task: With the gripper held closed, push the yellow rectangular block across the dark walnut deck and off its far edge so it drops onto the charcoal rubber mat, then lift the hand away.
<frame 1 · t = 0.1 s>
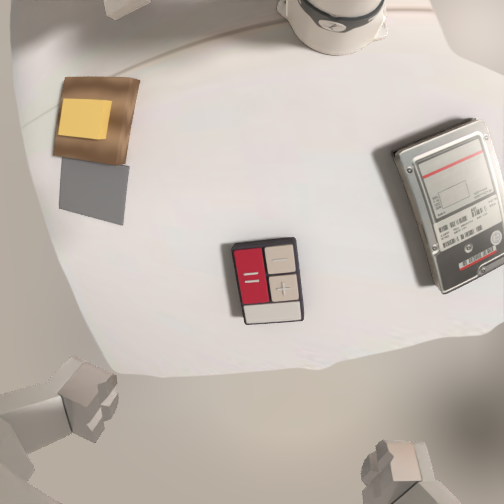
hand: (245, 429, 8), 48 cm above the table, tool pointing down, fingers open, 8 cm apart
yellow rectangular block: (87, 118, 50), point 3 cm above the table, touching deck
deck: (98, 118, 53), on the table
mat: (91, 188, 58), on the table
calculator: (270, 277, 60), on the table
hard drive: (456, 204, 50), on the table
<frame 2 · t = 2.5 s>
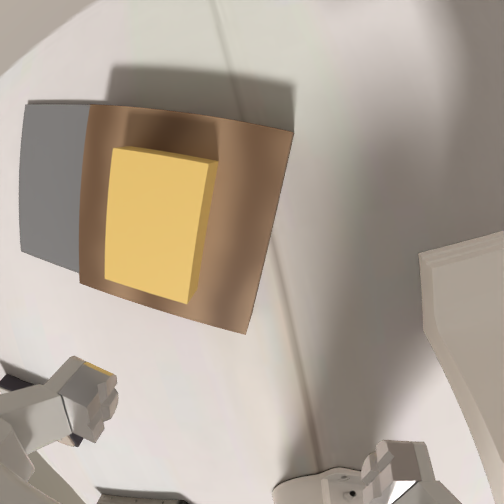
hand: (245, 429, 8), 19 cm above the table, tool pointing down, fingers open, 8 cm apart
yellow rectangular block: (162, 218, 24), point 3 cm above the table, touching deck
deck: (179, 208, 27), on the table
mat: (55, 187, 28), on the table
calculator: (44, 404, 43), on the table
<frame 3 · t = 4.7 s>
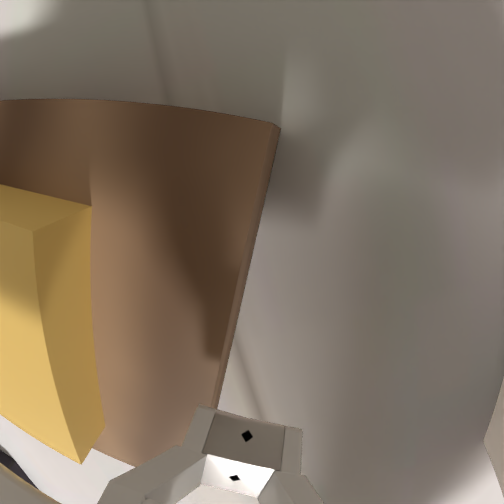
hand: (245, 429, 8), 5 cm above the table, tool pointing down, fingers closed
yellow rectangular block: (26, 312, 10), point 3 cm above the table, touching deck
deck: (72, 278, 14), on the table
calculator: (0, 456, 30), on the table
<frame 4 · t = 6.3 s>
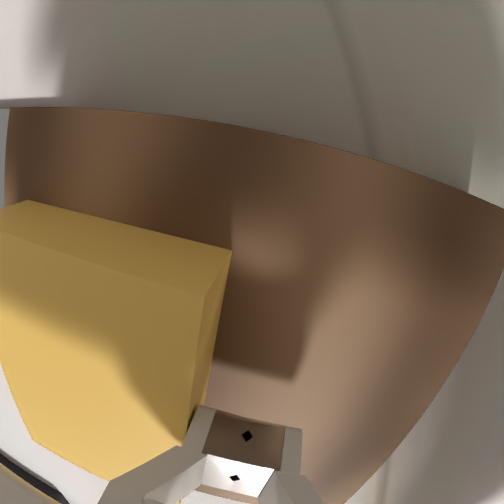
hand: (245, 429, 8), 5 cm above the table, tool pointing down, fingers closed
yellow rectangular block: (111, 358, 10), point 4 cm above the table, touching deck, gripper
deck: (218, 331, 13), on the table
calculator: (35, 482, 30), on the table
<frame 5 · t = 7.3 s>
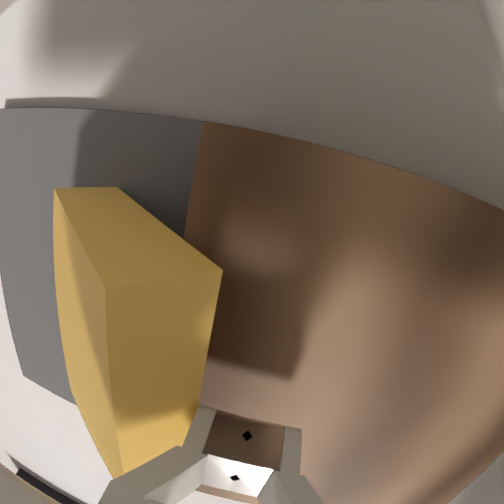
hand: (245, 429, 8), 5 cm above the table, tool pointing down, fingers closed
yellow rectangular block: (143, 350, 11), point 3 cm above the table, tilted 41°, touching gripper
deck: (378, 367, 13), on the table
mat: (77, 294, 14), on the table
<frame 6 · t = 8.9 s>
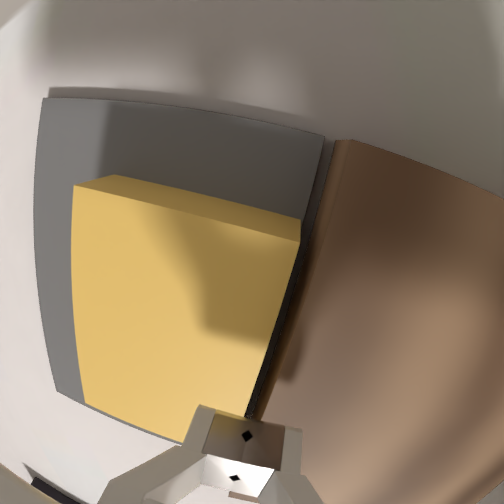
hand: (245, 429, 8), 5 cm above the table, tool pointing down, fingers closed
yellow rectangular block: (180, 315, 13), resting on mat
deck: (441, 372, 12), on the table
mat: (136, 309, 13), on the table
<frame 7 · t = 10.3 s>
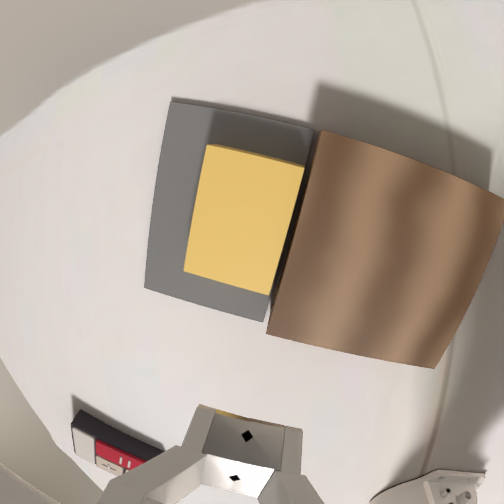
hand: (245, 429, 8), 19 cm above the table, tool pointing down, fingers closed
yellow rectangular block: (244, 215, 26), resting on mat
deck: (385, 253, 25), on the table
mat: (218, 215, 27), on the table
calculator: (121, 444, 42), on the table
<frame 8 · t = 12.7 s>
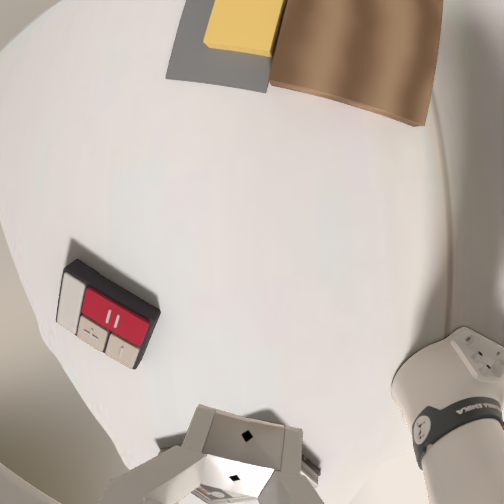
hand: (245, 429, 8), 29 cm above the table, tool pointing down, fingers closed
yellow rectangular block: (250, 13, 28), resting on mat
deck: (359, 39, 28), on the table
mat: (231, 17, 29), on the table
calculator: (110, 310, 45), on the table
hard drive: (237, 462, 54), on the table
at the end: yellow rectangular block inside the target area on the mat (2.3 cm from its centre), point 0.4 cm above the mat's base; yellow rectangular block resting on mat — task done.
